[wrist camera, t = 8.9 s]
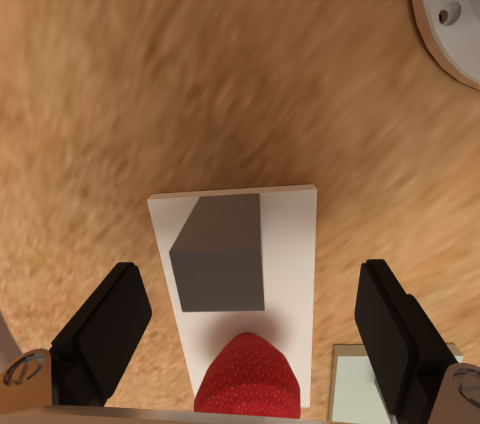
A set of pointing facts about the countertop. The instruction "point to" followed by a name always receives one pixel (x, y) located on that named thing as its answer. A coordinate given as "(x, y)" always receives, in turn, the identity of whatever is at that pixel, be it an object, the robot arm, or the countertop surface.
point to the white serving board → (240, 270)
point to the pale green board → (359, 387)
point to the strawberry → (249, 381)
